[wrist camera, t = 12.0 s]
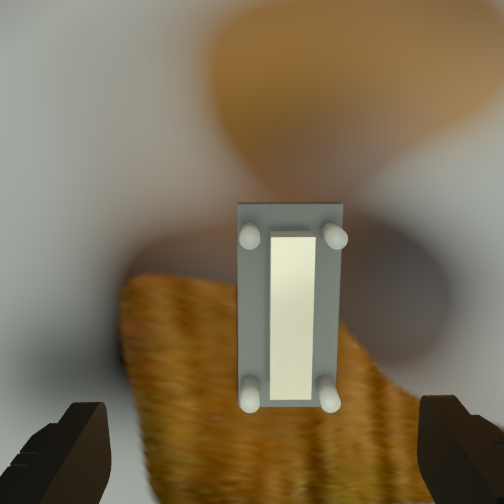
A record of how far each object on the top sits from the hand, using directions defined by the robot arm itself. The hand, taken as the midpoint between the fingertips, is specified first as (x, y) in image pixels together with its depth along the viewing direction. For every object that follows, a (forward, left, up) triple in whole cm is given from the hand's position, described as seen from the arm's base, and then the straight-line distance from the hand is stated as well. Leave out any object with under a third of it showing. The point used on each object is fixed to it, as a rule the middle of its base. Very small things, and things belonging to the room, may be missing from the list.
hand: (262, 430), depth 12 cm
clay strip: (+5, +3, -23) cm, 23 cm away
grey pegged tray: (+5, +3, -24) cm, 24 cm away
